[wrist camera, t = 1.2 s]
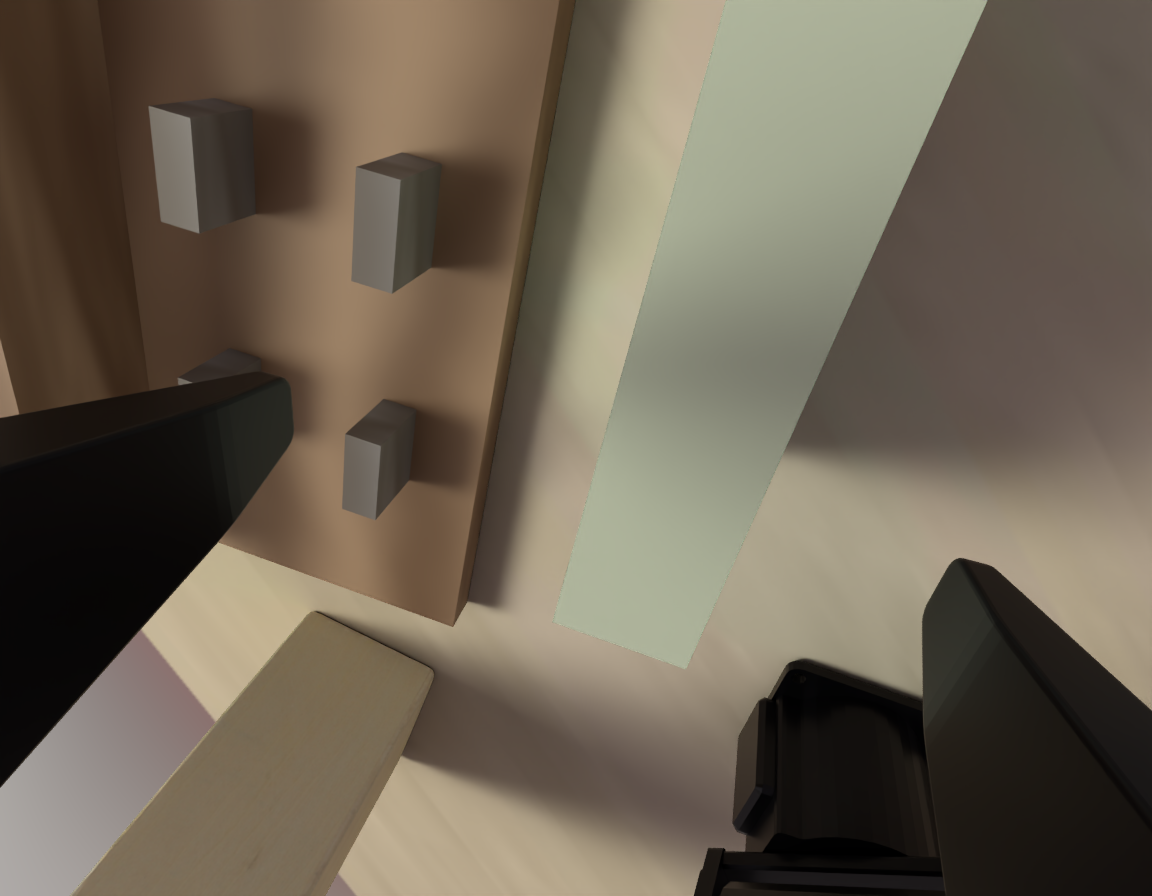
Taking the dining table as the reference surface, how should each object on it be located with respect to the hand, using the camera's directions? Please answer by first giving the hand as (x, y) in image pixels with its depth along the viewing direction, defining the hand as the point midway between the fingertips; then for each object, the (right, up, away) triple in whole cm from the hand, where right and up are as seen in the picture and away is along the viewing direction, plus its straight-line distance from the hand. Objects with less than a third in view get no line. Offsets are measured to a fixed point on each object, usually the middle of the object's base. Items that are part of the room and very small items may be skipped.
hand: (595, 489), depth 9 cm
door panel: (+5, +7, +10) cm, 13 cm away
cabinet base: (-9, +6, +15) cm, 18 cm away
